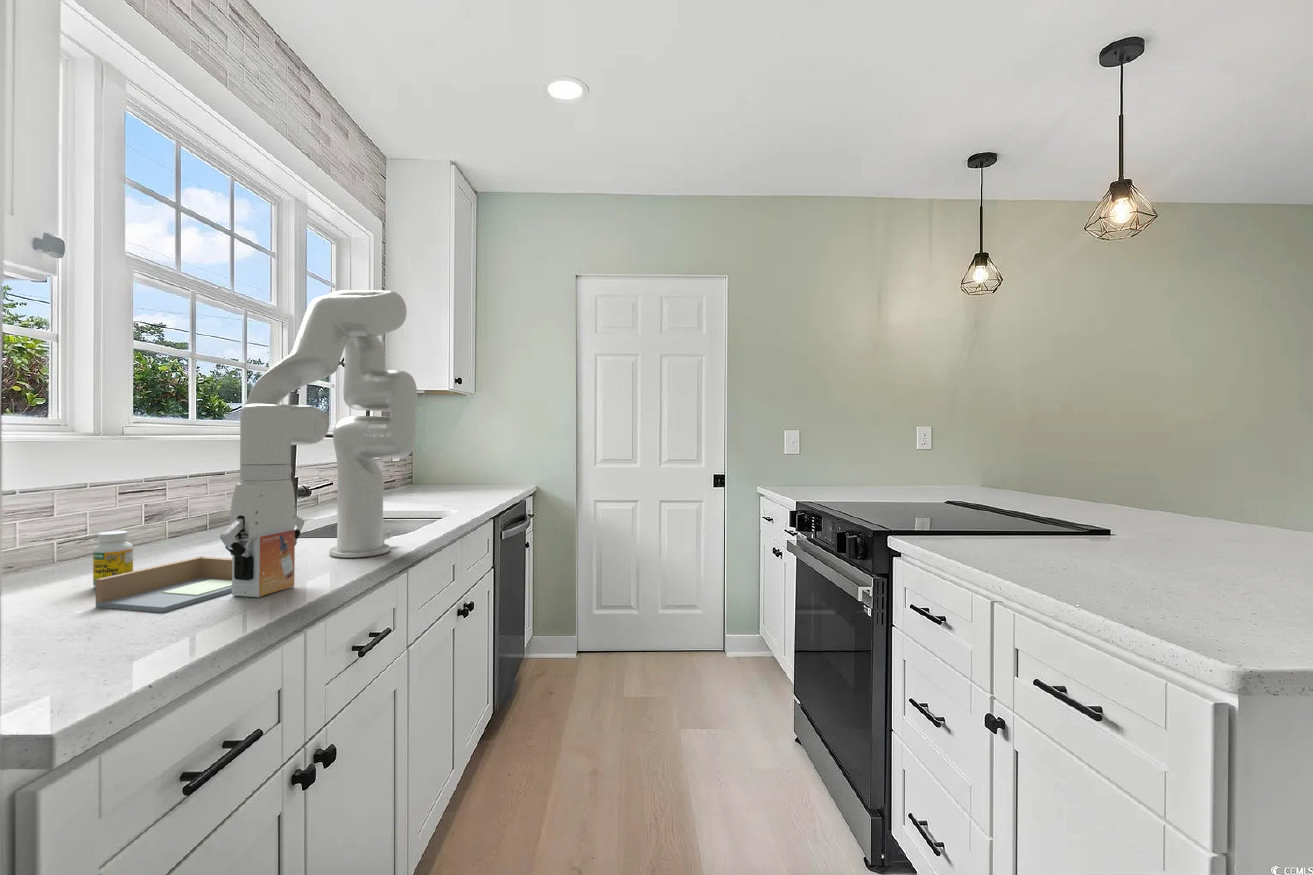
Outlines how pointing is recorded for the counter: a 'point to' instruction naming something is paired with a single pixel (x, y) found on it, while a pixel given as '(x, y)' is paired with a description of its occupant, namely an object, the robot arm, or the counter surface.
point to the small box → (268, 565)
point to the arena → (162, 585)
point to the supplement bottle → (112, 555)
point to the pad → (201, 587)
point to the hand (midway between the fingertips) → (265, 573)
